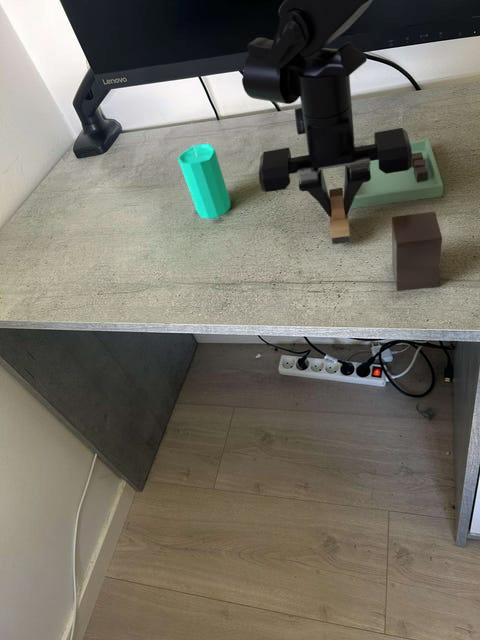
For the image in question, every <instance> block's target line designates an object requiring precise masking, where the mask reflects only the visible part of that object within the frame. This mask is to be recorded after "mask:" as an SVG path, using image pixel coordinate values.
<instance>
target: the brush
mask: <svg viewBox="0 0 480 640" xmlns="http://www.w3.org/2000/svg"><path fill="white" fill-rule="evenodd" d="M328 194H329V198H330V205H331V212H332V217H329V216H328V218H329V233H330V238H331V244H332V245H337V244H338V245H339V244H347V243H350V242H351V241H350V236H351V232H350V219H349V214H348V215H345V211H344V189H343V187H337V188H330V189H328Z"/></svg>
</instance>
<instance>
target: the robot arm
mask: <svg viewBox="0 0 480 640" xmlns="http://www.w3.org/2000/svg"><path fill="white" fill-rule="evenodd" d="M373 1H374V0H283V2H281V5H280V6H279V9H278V16H279V20H278V22H279V24H278V25H279V26H278V28H277V31H276V32H275V33H276V34H275V37H274V39H273V40H272V39H268V38H266V37H257V38H255V39H254V40H252V41H251V42H249V43H247V46H246V47H247V51H248V55H247V57H246V59H245V62H244V66H243V69H242V78H241V84H242V87H243V89H244V92H245V94H246V95H247V96H248V97H249V98H251V99H253V100H254V99H255V100H260V101H266V102H272V103H280V104H285V105H291V104H294V103H295V102H297V100H298V99H299V98H300V104H301V107H297V108H294V116H295V117H294V118H295V126H296V133H297V135H298V136H300V135H305V139H306V144H307V152H308V154H304V155H299V156H295V157H292V154H291V149H290V147H283V148H278V149H272V150H267V151H266V150H265V151H263V152H262V153H261V155H260V158H259V166H258V167H259V168H258V181H259V184H260V190H261V191H262V192H263V193H268V192H269V193H270V192H275V191H282V190H286V189H287V188H288V187H289V185H290V184H291V177H290V175H292V174H296V177H297V178H298V189H299V191H300V192H308V193H309V194H310V195H311V196H312V198H314V199H315V200H316V201H317V202H318V204H319V205H320V206H321V208H322V209H323V210H324V212H325V214H326V215H327V216H328V218H329V217H332V212H331V205H330V197H329V189H328V186H327V183H326V179H325V175H324V171H323V170H328V169H334V168H341V167H344V184H343V185H344V186H343V187H344V189H343V198H344V211H345V215H348V216H349V212H350V210H351V205H352V202H353V200H354V198H355V195H356V194H357V192H358V190H359V189H360V187H361V185H362V184H363V183H364V182H368V181H370V180H371V173H370V166H369V165H371V163H370V161H374V160H378V164H379V170H381V171H382V172H384V173H385V174H387V173H394V172H400V171H407V170H409V169H410V168H411V167H412V149H411V145H410V142H411V141H410V138H409V134H408V132H407V130H405V129H404V128H403V127H399V128H393V129H388V130H383V131H382V130H381V131H375V132H374V133H373V134H374V135H373V139H374V143H371V144H368V143H367V142H360V143H355V133H354V119H353V117H354V116H353V105H352V93H351V92H352V91H351V78H350V75H351V74H352V73H355V71H357V70H359V68H360V67H361V66H363V65H364V64H365V63H366V62H367V61H368V60H367V59H368V58H367V56H366V55H365V54H364V53H363V52H362V51H361V50H359V49H357V48H356V47H355V46H354V45H353V43H352V41H347V42H346V43H344V44H343V45H342V46H340V47H339V48H328V47H327V48H326V46H327V45H329V44H330V43H331V42H332V41H334V40H335V39H336V38H338V37H339V36H341V35H342V34H343V33H344V32H346V30H348V29H349V28H350V27H352V25H353V24H354V23H355V22H356V21H357V20H358V19H359V18H360V17H361V15H363V13H364V12H366V10H367V9H368V8H369V6H371V3H373Z"/></svg>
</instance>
